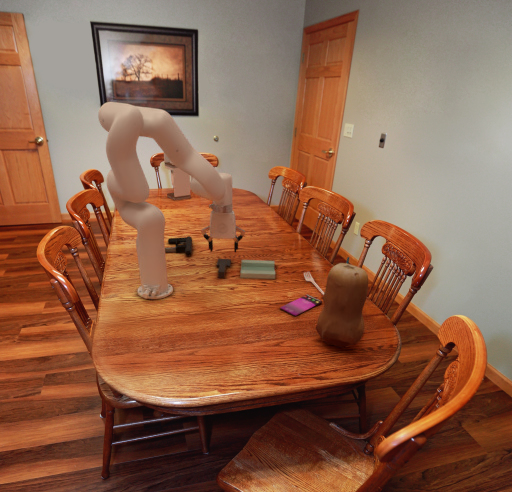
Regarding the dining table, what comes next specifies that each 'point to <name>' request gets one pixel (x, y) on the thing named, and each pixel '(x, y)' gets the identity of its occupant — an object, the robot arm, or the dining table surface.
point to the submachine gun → (180, 248)
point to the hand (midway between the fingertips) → (223, 250)
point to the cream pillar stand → (178, 181)
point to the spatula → (223, 266)
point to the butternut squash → (343, 306)
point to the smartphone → (301, 305)
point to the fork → (312, 281)
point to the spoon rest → (257, 269)
